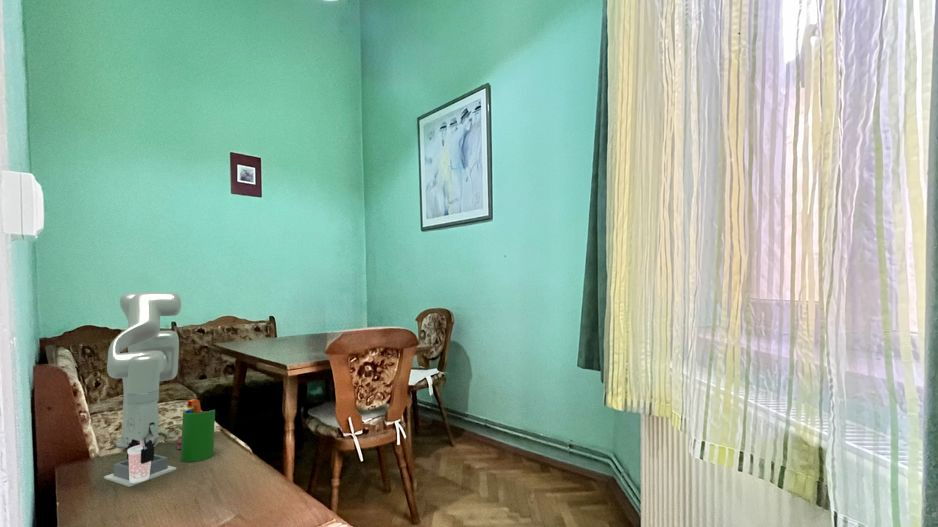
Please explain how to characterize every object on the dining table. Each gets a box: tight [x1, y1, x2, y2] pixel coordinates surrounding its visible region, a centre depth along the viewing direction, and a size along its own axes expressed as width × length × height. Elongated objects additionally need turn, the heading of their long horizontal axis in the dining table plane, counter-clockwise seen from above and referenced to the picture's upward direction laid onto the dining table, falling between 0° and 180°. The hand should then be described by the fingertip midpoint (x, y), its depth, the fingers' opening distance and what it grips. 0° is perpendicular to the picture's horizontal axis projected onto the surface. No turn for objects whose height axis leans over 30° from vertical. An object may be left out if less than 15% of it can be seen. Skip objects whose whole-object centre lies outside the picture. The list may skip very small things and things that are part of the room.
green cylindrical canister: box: [180, 398, 216, 463], centre depth 145 cm, size 10×9×20 cm
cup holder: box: [103, 453, 177, 488], centre depth 131 cm, size 14×13×4 cm
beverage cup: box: [126, 440, 151, 483], centre depth 122 cm, size 6×6×14 cm
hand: (140, 459), depth 122 cm, fingers closed on beverage cup, 6 cm apart
